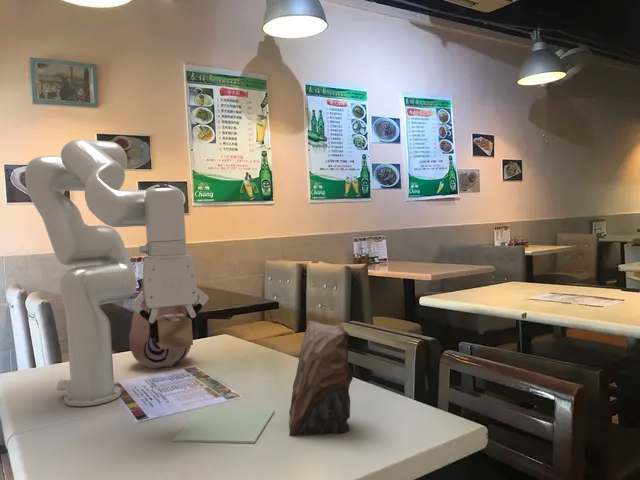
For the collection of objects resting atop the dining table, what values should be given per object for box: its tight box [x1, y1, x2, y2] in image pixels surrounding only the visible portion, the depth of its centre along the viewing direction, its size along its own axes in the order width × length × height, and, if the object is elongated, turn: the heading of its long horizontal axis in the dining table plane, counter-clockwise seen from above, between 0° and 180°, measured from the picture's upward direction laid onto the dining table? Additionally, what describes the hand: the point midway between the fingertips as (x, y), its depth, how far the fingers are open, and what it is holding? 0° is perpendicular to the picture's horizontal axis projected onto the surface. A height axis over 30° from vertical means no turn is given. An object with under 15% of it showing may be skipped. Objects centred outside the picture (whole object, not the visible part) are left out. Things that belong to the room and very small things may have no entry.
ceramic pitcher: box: [128, 278, 199, 369], centre depth 160 cm, size 18×21×25 cm
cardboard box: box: [156, 314, 194, 349], centre depth 112 cm, size 6×9×5 cm, turn 26°
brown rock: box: [288, 320, 354, 437], centre depth 110 cm, size 13×13×20 cm
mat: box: [172, 408, 275, 444], centre depth 112 cm, size 16×16×1 cm
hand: (172, 338), depth 112 cm, fingers closed on cardboard box, 6 cm apart
